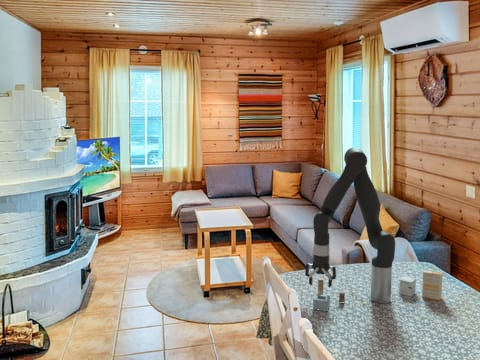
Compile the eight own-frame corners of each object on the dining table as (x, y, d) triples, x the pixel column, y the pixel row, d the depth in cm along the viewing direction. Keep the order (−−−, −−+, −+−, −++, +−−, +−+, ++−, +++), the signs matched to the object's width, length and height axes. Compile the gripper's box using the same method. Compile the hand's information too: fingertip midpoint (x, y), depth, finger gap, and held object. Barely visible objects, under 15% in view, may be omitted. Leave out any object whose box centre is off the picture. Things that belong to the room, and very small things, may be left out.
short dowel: (339, 301, 211) (339, 292, 211) (344, 301, 211) (344, 292, 210) (338, 303, 209) (339, 294, 208) (344, 303, 208) (344, 294, 208)
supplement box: (441, 297, 214) (443, 271, 212) (440, 301, 210) (441, 274, 208) (423, 294, 218) (424, 268, 216) (421, 297, 214) (422, 271, 212)
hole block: (315, 304, 208) (315, 293, 208) (329, 306, 206) (329, 295, 205) (313, 309, 202) (313, 299, 202) (327, 311, 200) (327, 301, 199)
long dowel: (318, 298, 215) (318, 278, 213) (323, 298, 214) (323, 279, 212) (317, 300, 213) (317, 280, 211) (322, 300, 212) (322, 280, 210)
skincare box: (398, 293, 219) (399, 279, 218) (403, 289, 224) (403, 275, 222) (411, 296, 215) (411, 282, 214) (415, 292, 220) (416, 278, 219)
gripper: (337, 252, 210) (336, 284, 213) (307, 249, 215) (306, 281, 217) (335, 257, 203) (334, 290, 206) (304, 253, 208) (303, 286, 210)
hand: (320, 285), depth 211 cm, fingers open, 8 cm apart
